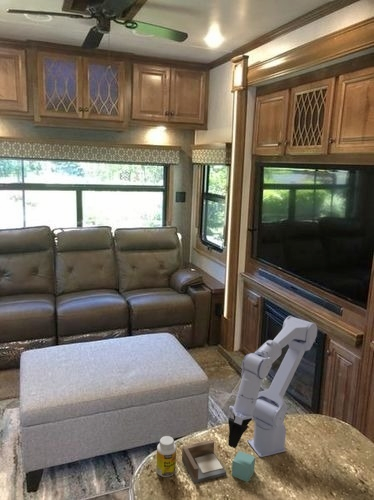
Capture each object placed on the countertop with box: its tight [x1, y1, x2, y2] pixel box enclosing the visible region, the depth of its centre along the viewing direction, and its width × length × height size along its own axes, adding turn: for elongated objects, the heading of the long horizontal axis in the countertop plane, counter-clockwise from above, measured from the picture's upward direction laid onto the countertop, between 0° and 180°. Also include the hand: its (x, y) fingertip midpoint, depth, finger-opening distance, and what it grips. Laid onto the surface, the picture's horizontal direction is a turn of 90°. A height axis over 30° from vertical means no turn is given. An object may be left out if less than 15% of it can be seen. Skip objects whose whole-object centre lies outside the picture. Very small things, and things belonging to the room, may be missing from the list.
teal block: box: [231, 450, 256, 483], centre depth 121 cm, size 5×5×5 cm
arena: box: [181, 439, 227, 484], centre depth 123 cm, size 10×10×4 cm
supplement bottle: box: [156, 435, 177, 478], centre depth 120 cm, size 6×6×10 cm
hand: (233, 442), depth 119 cm, fingers open, 7 cm apart
